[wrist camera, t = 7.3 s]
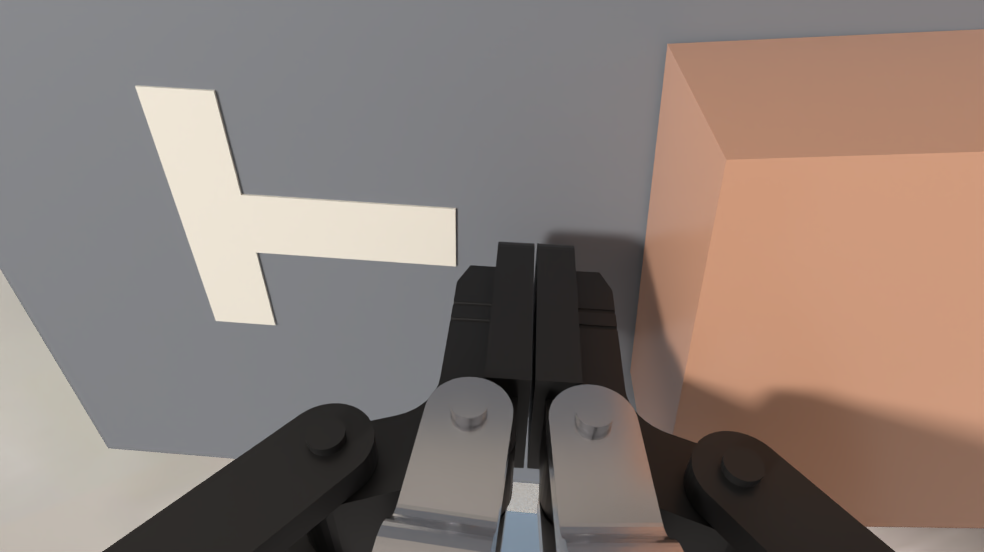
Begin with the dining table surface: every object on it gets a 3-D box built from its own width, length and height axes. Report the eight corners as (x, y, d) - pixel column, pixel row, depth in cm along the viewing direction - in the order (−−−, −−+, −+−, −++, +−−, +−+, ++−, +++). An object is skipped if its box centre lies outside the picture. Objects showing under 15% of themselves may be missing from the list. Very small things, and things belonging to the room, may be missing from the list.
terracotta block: (1190, 20, 10) (1504, 134, 7) (972, 369, 15) (1091, 530, 12) (667, 43, 10) (725, 159, 7) (630, 371, 15) (655, 523, 12)
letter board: (1152, -327, 8) (1221, -340, 7) (747, 472, 19) (755, 503, 18) (-312, -373, 9) (-401, -390, 8) (125, 422, 20) (107, 449, 19)
